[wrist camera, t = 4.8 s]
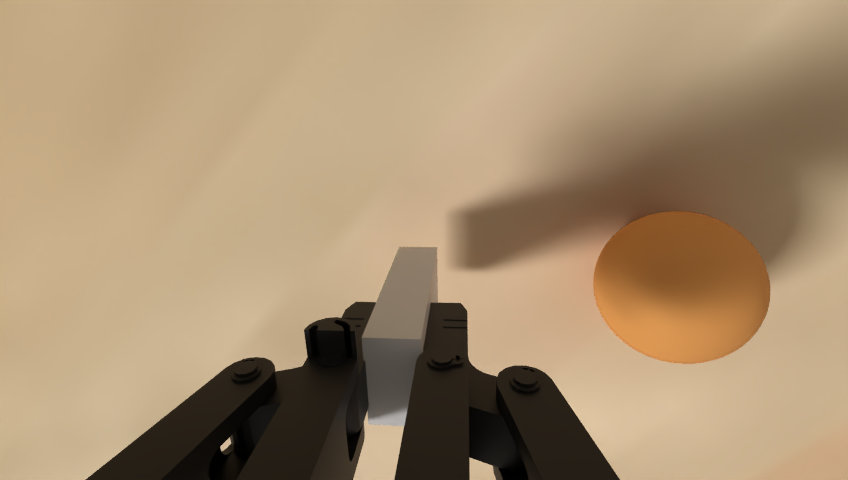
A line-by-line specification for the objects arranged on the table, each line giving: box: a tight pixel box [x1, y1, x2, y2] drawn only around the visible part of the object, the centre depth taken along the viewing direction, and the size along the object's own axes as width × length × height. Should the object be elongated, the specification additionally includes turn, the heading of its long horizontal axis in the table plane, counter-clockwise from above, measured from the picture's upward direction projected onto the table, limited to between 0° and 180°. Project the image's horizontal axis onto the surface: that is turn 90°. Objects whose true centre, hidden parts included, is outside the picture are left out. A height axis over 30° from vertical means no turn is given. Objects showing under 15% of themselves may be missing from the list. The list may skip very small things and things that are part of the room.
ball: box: [593, 211, 770, 364], centre depth 16 cm, size 6×6×6 cm
